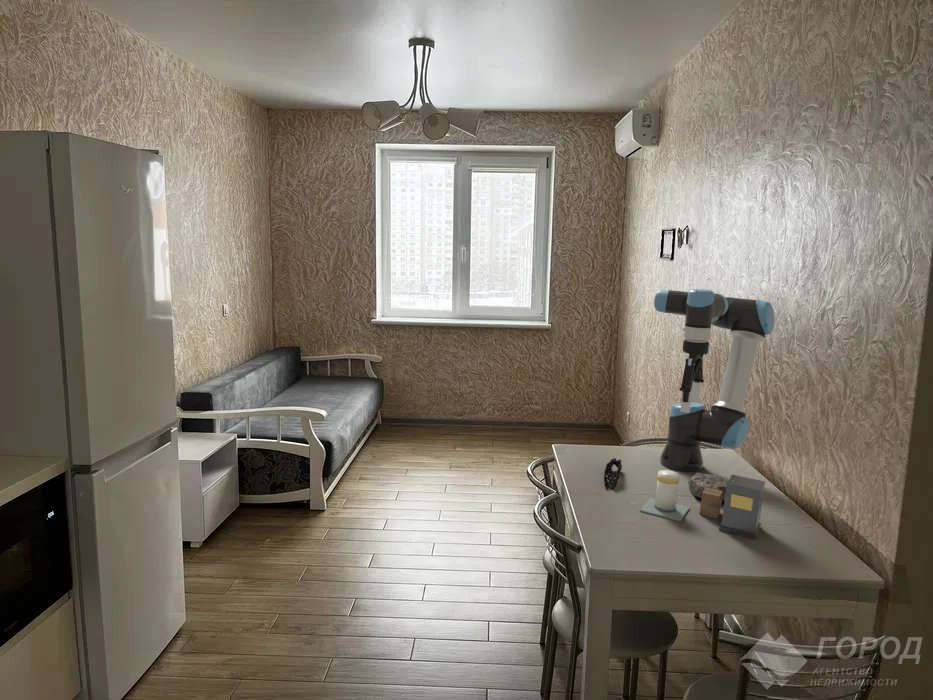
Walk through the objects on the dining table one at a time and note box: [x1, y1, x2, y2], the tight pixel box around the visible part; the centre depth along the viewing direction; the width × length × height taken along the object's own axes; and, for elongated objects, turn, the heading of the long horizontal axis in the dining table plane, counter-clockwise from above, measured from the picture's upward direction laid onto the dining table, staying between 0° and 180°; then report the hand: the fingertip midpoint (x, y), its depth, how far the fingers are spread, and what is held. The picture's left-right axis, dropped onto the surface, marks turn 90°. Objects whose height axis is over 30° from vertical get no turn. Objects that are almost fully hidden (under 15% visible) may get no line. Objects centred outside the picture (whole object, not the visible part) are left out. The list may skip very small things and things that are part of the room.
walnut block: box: [699, 488, 723, 519], centre depth 203 cm, size 5×5×7 cm
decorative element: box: [603, 457, 623, 490], centre depth 228 cm, size 22×5×6 cm, turn 164°
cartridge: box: [654, 469, 680, 512], centre depth 203 cm, size 6×6×11 cm
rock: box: [687, 472, 728, 502], centre depth 217 cm, size 13×6×15 cm
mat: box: [639, 497, 690, 522], centre depth 204 cm, size 12×12×1 cm
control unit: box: [718, 474, 766, 540], centre depth 192 cm, size 10×10×14 cm
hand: (689, 407), depth 210 cm, fingers open, 13 cm apart
